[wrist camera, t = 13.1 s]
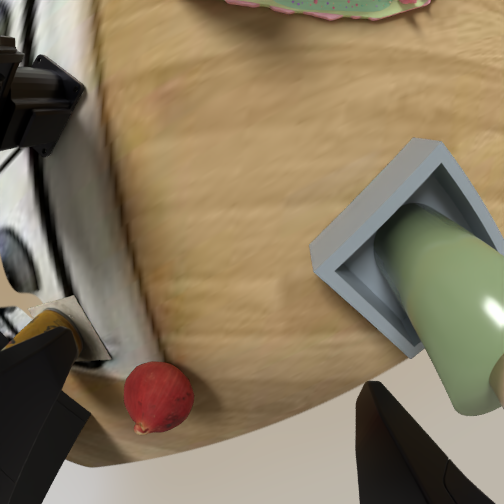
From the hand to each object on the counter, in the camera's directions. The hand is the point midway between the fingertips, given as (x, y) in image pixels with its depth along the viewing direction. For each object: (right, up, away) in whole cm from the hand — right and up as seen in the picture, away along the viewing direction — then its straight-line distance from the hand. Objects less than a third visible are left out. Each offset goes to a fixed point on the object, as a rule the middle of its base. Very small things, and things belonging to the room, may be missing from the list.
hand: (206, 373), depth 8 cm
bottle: (+12, +4, +10) cm, 16 cm away
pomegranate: (-6, -7, +18) cm, 20 cm away
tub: (+12, +4, +11) cm, 17 cm away
